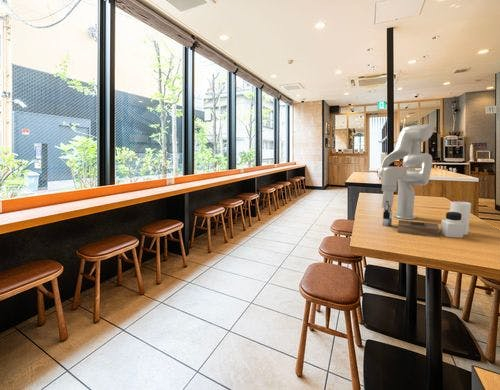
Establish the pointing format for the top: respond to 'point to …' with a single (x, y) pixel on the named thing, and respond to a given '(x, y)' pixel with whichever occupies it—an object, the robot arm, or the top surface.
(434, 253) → the top surface
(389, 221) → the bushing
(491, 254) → the top surface
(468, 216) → the cup
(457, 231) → the medicine bottle
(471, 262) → the top surface
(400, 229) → the block
